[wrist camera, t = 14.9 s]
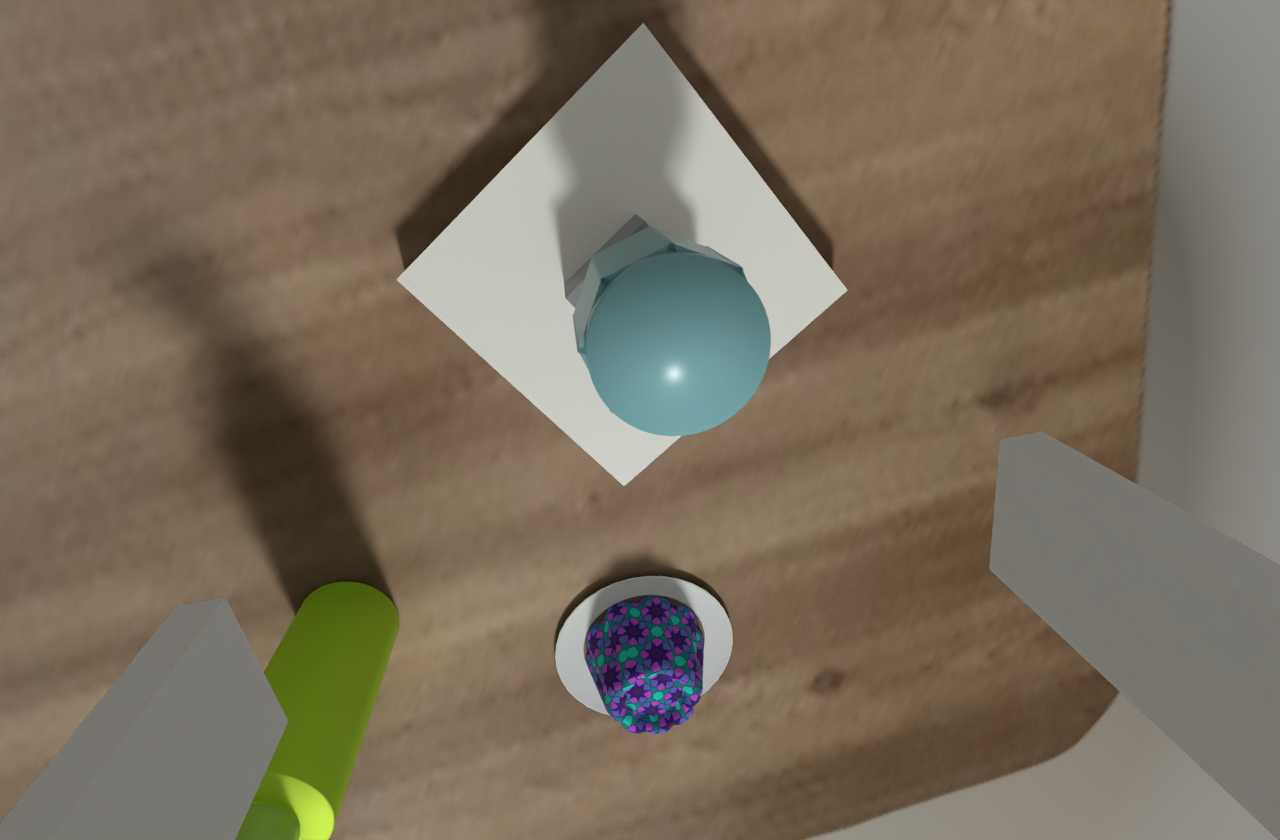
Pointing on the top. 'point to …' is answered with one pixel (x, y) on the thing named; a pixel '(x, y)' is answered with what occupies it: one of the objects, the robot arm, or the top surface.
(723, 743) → the top surface
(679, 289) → the cap
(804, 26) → the top surface
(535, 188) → the post base
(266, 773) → the soap dispenser
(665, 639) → the patterned brimmed hat
